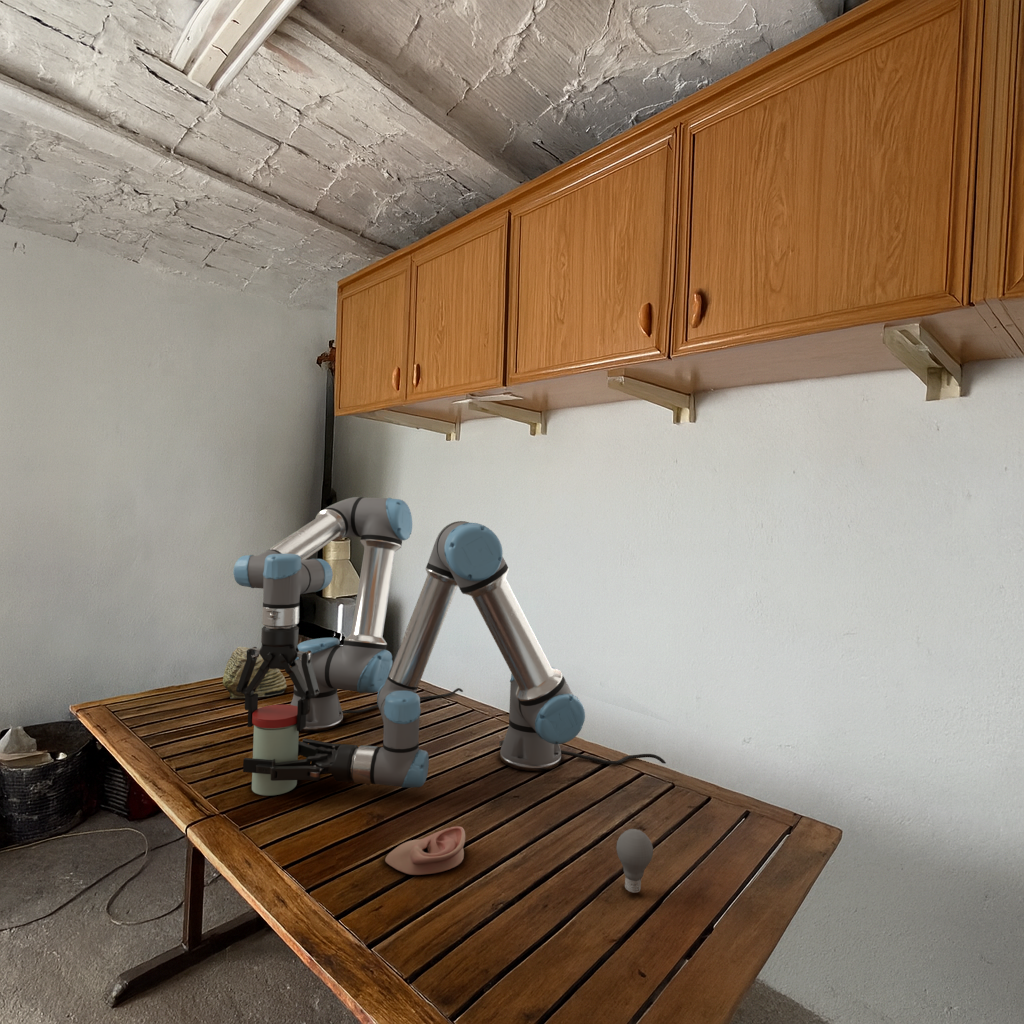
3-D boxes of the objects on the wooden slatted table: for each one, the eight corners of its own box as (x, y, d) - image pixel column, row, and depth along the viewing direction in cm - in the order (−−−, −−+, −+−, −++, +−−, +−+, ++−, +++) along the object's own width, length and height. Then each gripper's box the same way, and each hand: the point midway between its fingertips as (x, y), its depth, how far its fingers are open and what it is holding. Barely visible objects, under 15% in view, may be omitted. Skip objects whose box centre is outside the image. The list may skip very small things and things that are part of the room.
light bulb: (610, 879, 108) (613, 822, 108) (644, 879, 109) (647, 822, 109) (619, 902, 102) (622, 840, 102) (655, 901, 103) (658, 840, 103)
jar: (303, 778, 142) (306, 709, 142) (285, 797, 133) (288, 724, 133) (264, 774, 143) (266, 706, 143) (243, 793, 134) (245, 720, 133)
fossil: (218, 695, 195) (220, 647, 195) (278, 685, 208) (279, 640, 207) (228, 703, 189) (230, 653, 188) (289, 692, 201) (290, 645, 201)
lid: (281, 731, 131) (281, 722, 131) (241, 724, 134) (242, 715, 134) (310, 716, 141) (310, 708, 141) (272, 710, 144) (272, 702, 144)
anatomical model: (378, 846, 108) (403, 814, 120) (377, 869, 108) (402, 835, 120) (453, 858, 106) (471, 824, 117) (452, 882, 106) (470, 846, 117)
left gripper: (220, 625, 135) (216, 728, 135) (324, 632, 132) (320, 737, 133) (239, 619, 142) (235, 716, 143) (338, 625, 140) (334, 725, 140)
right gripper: (336, 805, 125) (228, 795, 127) (371, 760, 147) (278, 752, 149) (338, 767, 125) (229, 758, 127) (372, 728, 147) (279, 721, 149)
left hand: (276, 726), depth 138 cm, fingers open, 10 cm apart
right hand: (255, 755), depth 138 cm, fingers closed on jar, 9 cm apart
